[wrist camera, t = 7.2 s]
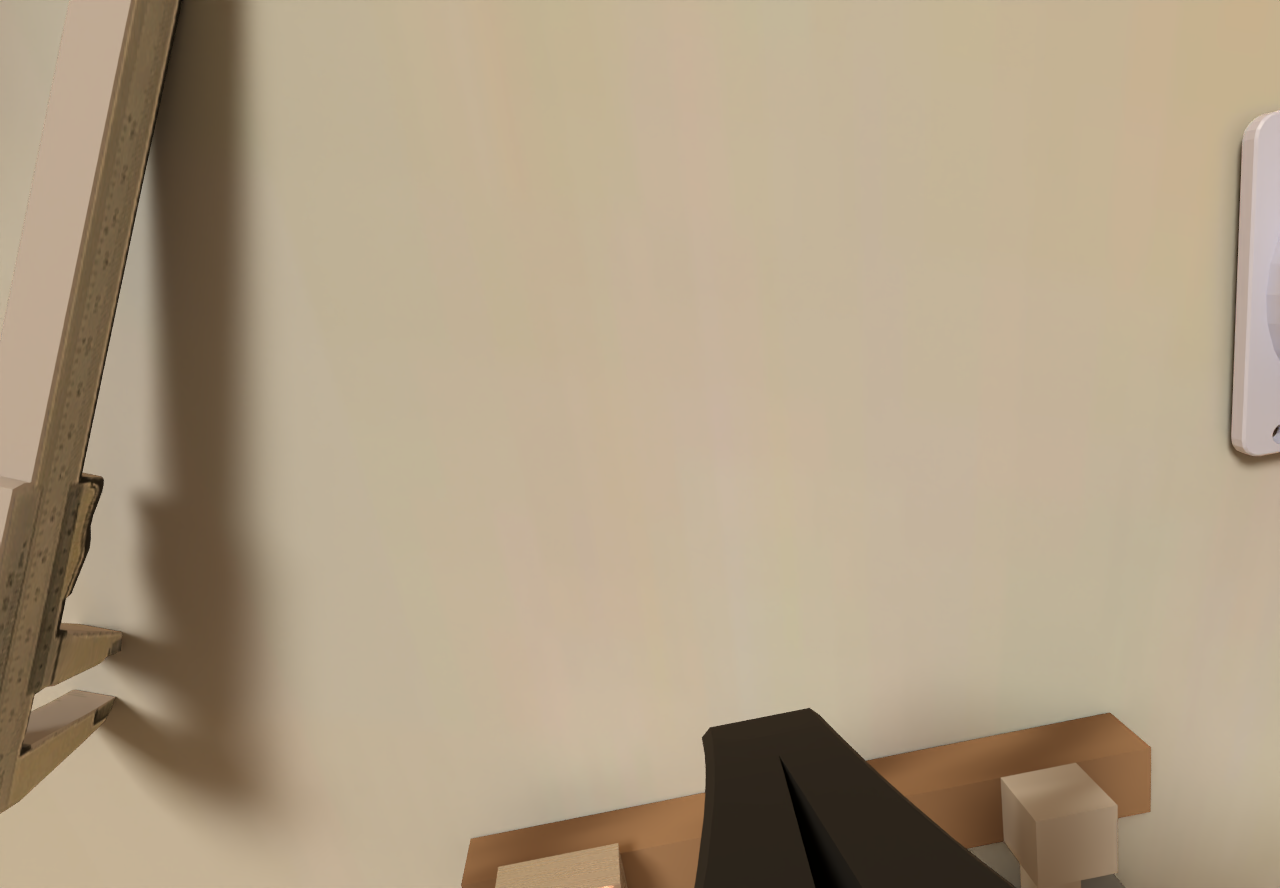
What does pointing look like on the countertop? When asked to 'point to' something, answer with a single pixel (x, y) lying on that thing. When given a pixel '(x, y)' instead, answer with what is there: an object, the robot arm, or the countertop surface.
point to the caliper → (67, 367)
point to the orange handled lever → (567, 870)
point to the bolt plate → (1102, 882)
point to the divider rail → (934, 782)
